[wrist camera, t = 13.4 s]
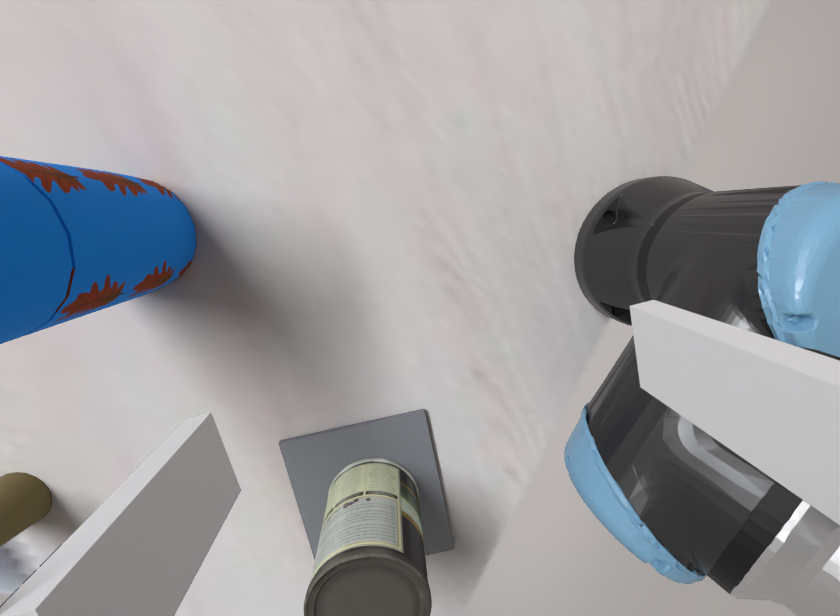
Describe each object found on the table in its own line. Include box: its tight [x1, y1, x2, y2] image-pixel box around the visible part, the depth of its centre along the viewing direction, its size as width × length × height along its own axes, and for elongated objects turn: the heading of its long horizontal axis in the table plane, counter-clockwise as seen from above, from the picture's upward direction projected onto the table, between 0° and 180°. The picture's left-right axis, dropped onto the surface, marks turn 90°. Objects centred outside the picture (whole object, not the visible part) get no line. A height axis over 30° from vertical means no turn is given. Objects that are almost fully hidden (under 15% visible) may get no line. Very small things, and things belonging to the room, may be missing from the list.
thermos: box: [0, 156, 197, 344], centre depth 29 cm, size 11×11×25 cm
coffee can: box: [304, 458, 432, 616], centre depth 42 cm, size 10×10×14 cm
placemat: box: [279, 409, 454, 559], centre depth 49 cm, size 16×18×1 cm
